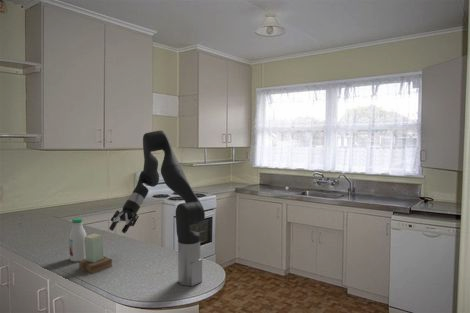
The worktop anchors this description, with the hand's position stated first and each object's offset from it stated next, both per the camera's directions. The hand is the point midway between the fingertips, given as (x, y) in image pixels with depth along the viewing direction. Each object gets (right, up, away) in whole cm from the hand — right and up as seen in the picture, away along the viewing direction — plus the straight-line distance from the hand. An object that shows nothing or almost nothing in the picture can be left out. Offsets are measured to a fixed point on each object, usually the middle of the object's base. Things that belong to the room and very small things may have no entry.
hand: (116, 231), depth 172 cm
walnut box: (-6, -15, -10) cm, 19 cm away
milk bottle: (-19, -14, 0) cm, 23 cm away
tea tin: (-7, -11, -10) cm, 16 cm away
